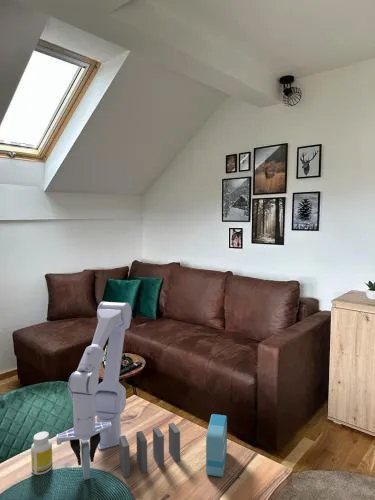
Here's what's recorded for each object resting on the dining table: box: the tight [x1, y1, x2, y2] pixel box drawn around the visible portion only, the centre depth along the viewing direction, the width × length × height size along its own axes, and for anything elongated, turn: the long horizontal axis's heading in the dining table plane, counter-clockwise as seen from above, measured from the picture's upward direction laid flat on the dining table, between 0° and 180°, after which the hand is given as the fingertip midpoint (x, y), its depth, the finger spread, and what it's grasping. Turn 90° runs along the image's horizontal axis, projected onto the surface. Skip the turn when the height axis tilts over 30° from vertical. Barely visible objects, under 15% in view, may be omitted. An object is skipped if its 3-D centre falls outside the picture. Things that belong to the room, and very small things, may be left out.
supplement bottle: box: [30, 430, 53, 475], centre depth 97 cm, size 5×5×10 cm
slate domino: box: [80, 439, 91, 481], centre depth 95 cm, size 5×2×9 cm, turn 24°
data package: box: [205, 413, 228, 478], centre depth 98 cm, size 12×4×12 cm, turn 168°
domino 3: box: [152, 426, 165, 468], centre depth 100 cm, size 5×2×9 cm, turn 24°
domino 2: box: [136, 430, 148, 474], centre depth 97 cm, size 5×2×9 cm, turn 24°
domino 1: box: [118, 435, 131, 479], centre depth 95 cm, size 5×2×9 cm, turn 24°
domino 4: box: [168, 422, 181, 463], centre depth 102 cm, size 5×2×9 cm, turn 24°
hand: (85, 461), depth 95 cm, fingers open, 3 cm apart
